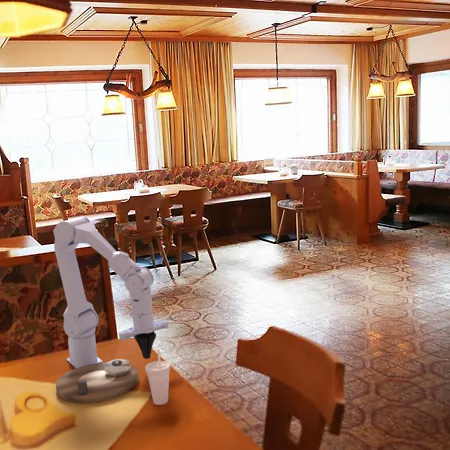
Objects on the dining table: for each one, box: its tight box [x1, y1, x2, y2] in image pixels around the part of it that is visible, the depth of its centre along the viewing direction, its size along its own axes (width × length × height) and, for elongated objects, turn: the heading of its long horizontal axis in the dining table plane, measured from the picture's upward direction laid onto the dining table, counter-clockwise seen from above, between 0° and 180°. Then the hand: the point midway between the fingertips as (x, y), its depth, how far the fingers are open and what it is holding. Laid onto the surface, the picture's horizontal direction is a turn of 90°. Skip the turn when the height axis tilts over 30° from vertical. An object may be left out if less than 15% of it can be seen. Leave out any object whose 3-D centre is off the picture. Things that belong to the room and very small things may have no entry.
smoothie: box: [144, 348, 171, 406], centre depth 149 cm, size 6×6×14 cm
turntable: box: [55, 361, 139, 403], centre depth 161 cm, size 22×22×4 cm
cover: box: [104, 358, 131, 377], centre depth 164 cm, size 7×7×3 cm
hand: (146, 357), depth 169 cm, fingers closed
